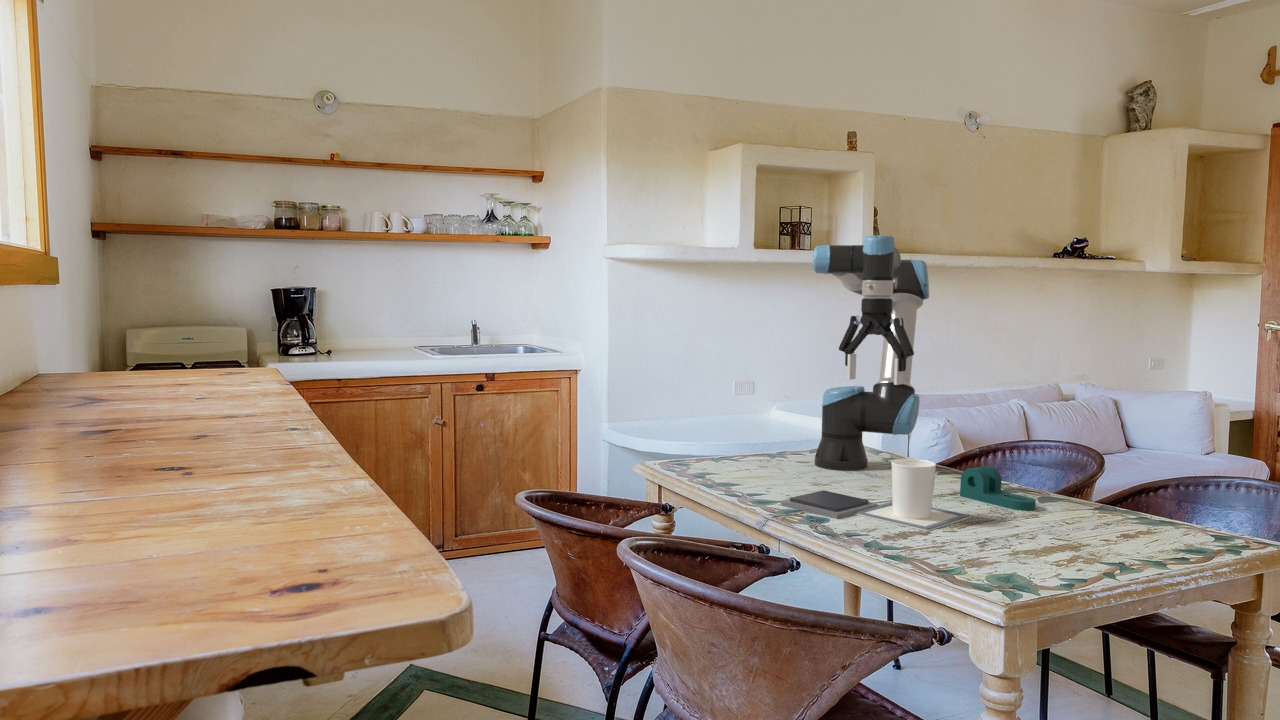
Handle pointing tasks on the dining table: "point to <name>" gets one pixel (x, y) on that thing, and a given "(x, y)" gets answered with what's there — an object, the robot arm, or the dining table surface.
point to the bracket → (991, 489)
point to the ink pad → (828, 504)
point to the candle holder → (912, 488)
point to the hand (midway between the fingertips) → (874, 381)
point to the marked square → (931, 523)
